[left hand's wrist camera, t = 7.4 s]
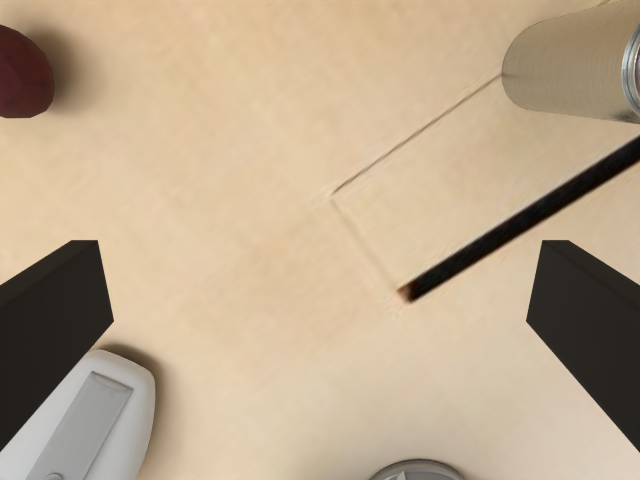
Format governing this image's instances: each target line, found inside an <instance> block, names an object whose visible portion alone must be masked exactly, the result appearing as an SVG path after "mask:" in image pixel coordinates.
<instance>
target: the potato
mask: <svg viewBox="0 0 640 480" xmlns="http://www.w3.org/2000/svg"><path fill="white" fill-rule="evenodd" d="M53 94H54V81H53V75H52V69H51V67H50V65H49V63H48V61H47V59H46V57H45V55H44V53H43V52H42V51H41V50H40V49H39V48H38V47H37V46H36V45H35V44H34V43H33V42H32V41H31V40H30V39H28V38H27V37H25V36H24V35H23V34H21V33H20V32H18V31H16V30H14V29H11V28H8V27H6V26H3V25H0V116H1V117H4V118H31V117H33V116H36V115H38V114H40V113H43V112H45V111H46V110H47V109H48V107H49V106H50V104H51V103H52V101H53Z"/></svg>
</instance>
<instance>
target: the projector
mask: <svg viewBox="0 0 640 480" xmlns="http://www.w3.org/2000/svg"><path fill="white" fill-rule="evenodd" d="M154 411H155V381H154V377H153V375H152V374H151V372H150V371H148V370H147V369H146V368H143V367H141V366H140V365H138V364H136V363H134V362H132V361H130V360H128V359H126V358H123V357H121V356H119V355H116V354H113V353H110V352H108V351H105V350H100V349H97V350H92V351H89V352H87V353H86V354H85V355H84V356H83V358H82V359H81V360H80V361H79V362H78V363H77V364H76V366H75V367H74V368H73V369H72V370H71V371H70V373H69V374H68V375H67V376H66V377H65V378H64V379H63V381H62V382H61V383H60V384H59V385H58V386H57V388H56V389H55V390H54V391H53V392H52V393H51V394H50V396H49V397H48V398H47V399H46V400H45V401H44V403H43V404H42V405H41V406H40V407H39V408H38V409H37V411H36V412H35V413H34V414H33V415H32V416H31V418H30V419H29V420H28V421H27V422H26V423H25V424H24V426H23V427H22V428H21V429H20V430H19V431H18V433H17V434H16V435H15V436H14V437H13V438H12V440H11V441H10V442H9V443H8V444H7V445H6V446H5V448H4V449H3V450H2V451H1V452H0V480H136V478H137V476H138V473H139V471H140V469H141V466H142V463H143V460H144V458H145V455H146V451H147V448H148V444H149V441H150V436H151V432H152V426H153V419H154Z"/></svg>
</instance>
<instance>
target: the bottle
mask: <svg viewBox="0 0 640 480" xmlns="http://www.w3.org/2000/svg"><path fill="white" fill-rule="evenodd" d="M502 81H503V86H504V89H505V91H506V93H507V95H508V96H509V98H510V99H511V100H512V101H513V102H514V103H515V104H517V105H518V106H520V107H522V108H524V109H527V110H533V111H541V112H549V113H556V114H564V115H572V116H580V117H588V118H596V119H604V120H611V121H619V122H627V123H635V124H640V0H619V1H615V2H612V3H608V4H604V5H601V6H597V7H594V8H590V9H586V10H583V11H579V12H576V13H572V14H568V15H565V16H561V17H558V18H554V19H550V20H547V21H543V22H540V23H537V24H534V25H532V26H531V27H529V28H527V29H526V30H524V31H523V32H522V33H521V34H520V35H519V36H518V37H517V38H516V39H515V40H514V41H513V43H512V44H511V46H510V47H509V49H508V51H507V53H506V55H505V58H504V62H503V67H502Z"/></svg>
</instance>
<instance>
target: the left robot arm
mask: <svg viewBox="0 0 640 480" xmlns="http://www.w3.org/2000/svg"><path fill="white" fill-rule="evenodd" d="M113 322H114V319H113V314H112V309H111V304H110V299H109V294H108V289H107V284H106V279H105V274H104V269H103V264H102V259H101V255H100V250H99V245H98V240H71V241H70V242H68V243H66V244H65V245H63V246H62V247H60V248H59V249H57V250H55V251H54V252H52V253H51V254H49V255H47V256H46V257H44V258H43V259H41V260H40V261H38V262H36V263H35V264H33V265H32V266H30V267H28V268H27V269H25V270H24V271H22V272H21V273H19V274H17V275H16V276H14V277H13V278H11V279H9V280H8V281H6V282H5V283H3V284H2V285H0V452H1V451H2V450H3V449H4V448H5V446H6V445H7V444H8V443H9V442H10V441H11V440H12V438H13V437H14V436H15V435H16V434H17V433H18V431H19V430H20V429H21V428H22V427H23V426H24V424H25V423H26V422H27V421H28V420H29V419H30V418H31V416H32V415H33V414H34V413H35V412H36V411H37V409H38V408H39V407H40V406H41V405H42V404H43V403H44V401H45V400H46V399H47V398H48V397H49V396H50V394H51V393H52V392H53V391H54V390H55V389H56V388H57V386H58V385H59V384H60V383H61V382H62V381H63V379H64V378H65V377H66V376H67V375H68V374H69V373H70V371H71V370H72V369H73V368H74V367H75V366H76V364H77V363H78V362H79V361H80V360H81V359H82V358H83V356H84V355H85V354H86V353H87V352H88V351H89V349H90V348H91V347H92V346H93V345H94V344H95V343H96V341H97V340H98V339H99V338H100V337H101V336H102V334H103V333H104V332H105V331H106V330H107V329H108V328H109V326H110V325H111V324H112V323H113ZM526 322H527V323H528V324H529V325H530V326H531V328H532V329H533V330H534V331H535V332H536V333H537V334H538V336H539V337H540V338H541V339H542V340H543V341H544V343H545V344H546V345H547V346H548V347H549V348H550V349H551V351H552V352H553V353H554V354H555V355H556V356H557V358H558V359H559V360H560V361H561V362H562V363H563V364H564V366H565V367H566V368H567V369H568V370H569V371H570V373H571V374H572V375H573V376H574V377H575V378H576V379H577V381H578V382H579V383H580V384H581V385H582V386H583V388H584V389H585V390H586V391H587V392H588V393H589V394H590V396H591V397H592V398H593V399H594V400H595V401H596V403H597V404H598V405H599V406H600V407H601V408H602V409H603V411H604V412H605V413H606V414H607V415H608V416H609V418H610V419H611V420H612V421H613V422H614V423H615V424H616V426H617V427H618V428H619V429H620V430H621V431H622V433H623V434H624V435H625V436H626V437H627V438H628V440H629V441H630V442H631V443H632V444H633V445H634V446H635V448H636V449H637V450H638V451H639V452H640V285H638V284H637V283H635V282H634V281H632V280H631V279H629V278H627V277H626V276H624V275H623V274H621V273H619V272H618V271H616V270H615V269H613V268H612V267H610V266H608V265H607V264H605V263H604V262H602V261H600V260H599V259H597V258H596V257H594V256H593V255H591V254H589V253H588V252H586V251H585V250H583V249H581V248H580V247H578V246H577V245H575V244H574V243H572V242H570V241H569V240H542V245H541V250H540V255H539V259H538V264H537V269H536V274H535V279H534V284H533V289H532V294H531V299H530V304H529V309H528V314H527V319H526ZM370 480H464V478H463V477H462V476H461V475H460V474H459V473H458V472H456V471H455V470H454V469H452V468H450V467H448V466H446V465H444V464H441V463H438V462H433V461H427V460H412V461H405V462H400V463H397V464H394V465H391V466H389V467H387V468H385V469H383V470H381V471H380V472H378V473H377V474H376V475H374V476H373V477H372V478H371V479H370Z"/></svg>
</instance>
